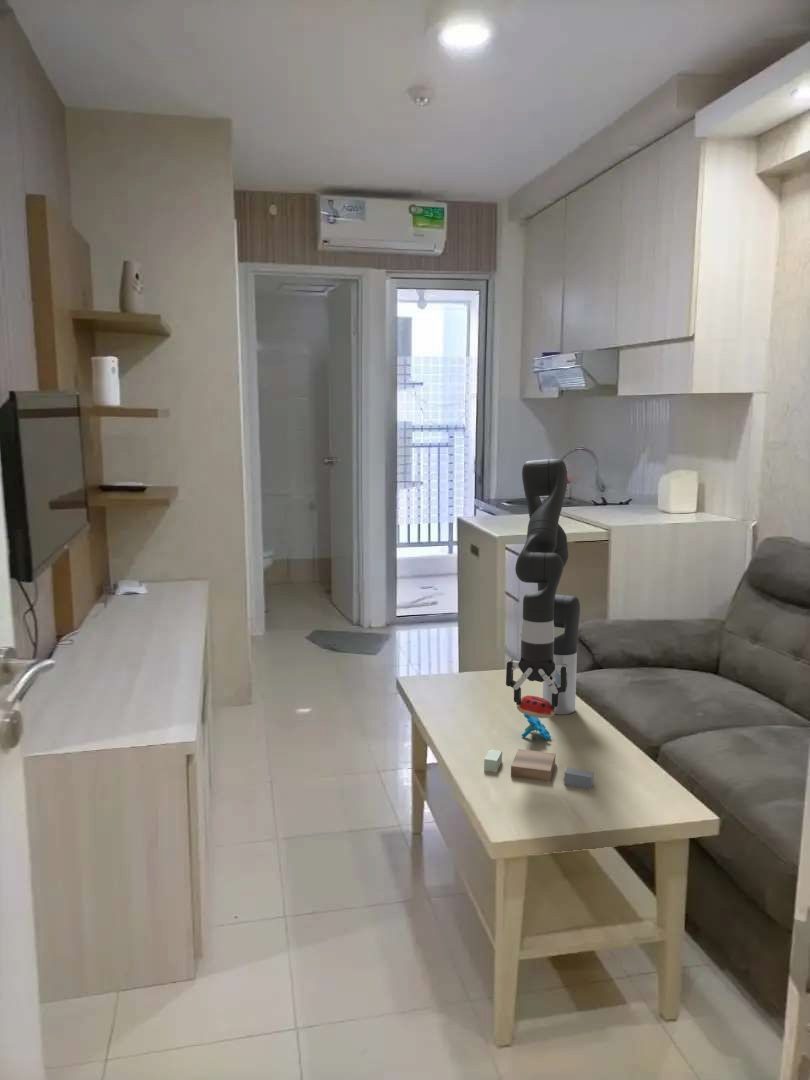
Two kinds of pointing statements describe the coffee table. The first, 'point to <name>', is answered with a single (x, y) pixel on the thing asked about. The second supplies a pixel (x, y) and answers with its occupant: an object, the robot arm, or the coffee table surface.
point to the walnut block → (533, 765)
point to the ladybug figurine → (535, 707)
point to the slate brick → (578, 778)
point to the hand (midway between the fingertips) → (535, 705)
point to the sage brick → (493, 760)
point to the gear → (535, 727)
